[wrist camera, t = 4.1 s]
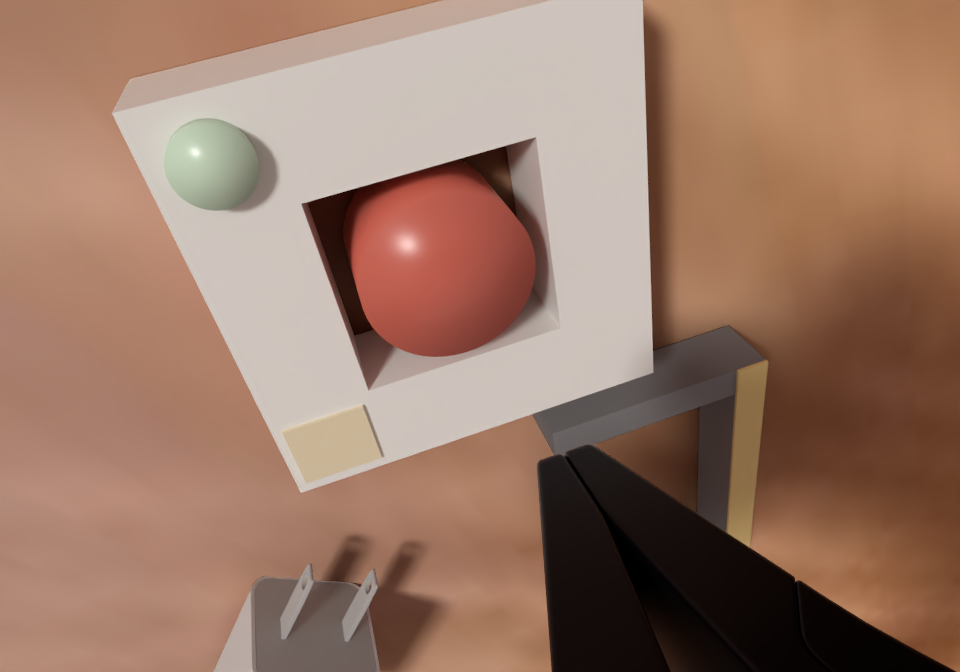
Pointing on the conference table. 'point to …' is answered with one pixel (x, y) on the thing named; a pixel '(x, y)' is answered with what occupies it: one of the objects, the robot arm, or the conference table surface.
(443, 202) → the button
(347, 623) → the usb wall charger
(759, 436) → the bracket
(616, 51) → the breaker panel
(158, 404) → the conference table surface
